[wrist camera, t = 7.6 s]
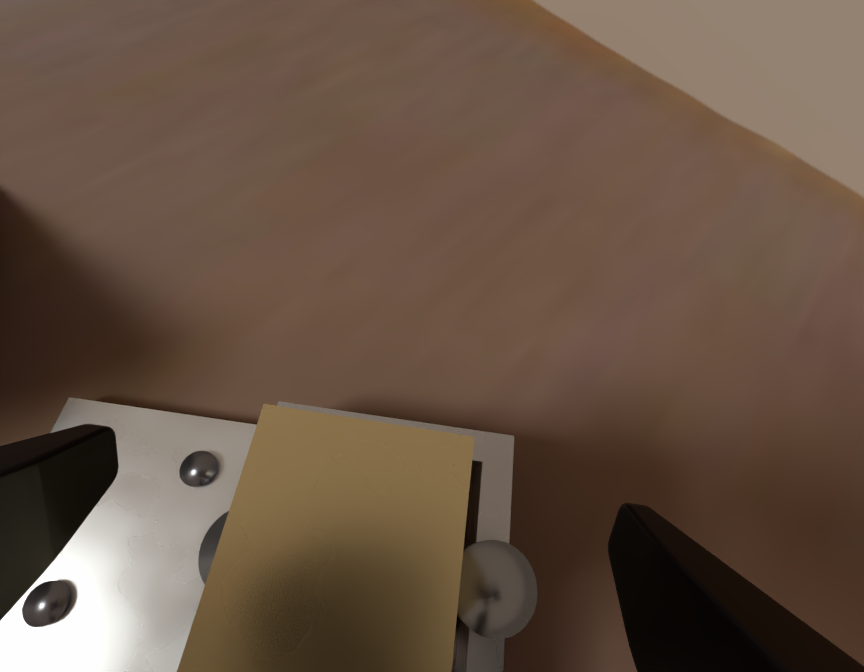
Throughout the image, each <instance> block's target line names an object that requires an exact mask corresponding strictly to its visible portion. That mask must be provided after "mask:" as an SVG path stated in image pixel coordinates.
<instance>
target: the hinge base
mask: <svg viewBox="0 0 864 672" xmlns="http://www.w3.org/2000/svg"><path fill="white" fill-rule="evenodd" d="M277 406H281V407H287V408H294V409H300V410H306V411H313V412H319V413H326V414H332V415H338V416H345V417H351V418H358V419H364V420H371V421H377V422H383V423H390V424H396V425H403V426H409V427H415V428H422V429H428V430H435V431H441V432H447V433H454V434H460V435H467V436H473V437H474V447H473V457H472V467H471V474H472V475H471V486H470V498H469V509H468V520H467V532H466V543H465V545H464V549H463V559H462V569H461V579H460V590H459V600H458V610H457V616H458V617H459V623H458V634H457V646H456V657H455V669H454V672H503V665H504V644H505V638H509V637H511V636H514V635H516V634H517V633H519V632H520V631H521V630H522V629H523V628H524V627H525V626H526V625H527V624H528V623H529V621H530V619H531V618H532V616H533V614H534V611H535V608H536V604H537V596H538V589H537V581H536V577H535V574H534V571H533V569H532V567H531V565H530V563H529V561H528V560H527V558H526V557H525V556H524V555H523V554H522V553H521V552H520V551H519V550H518V549H517V548H515V547H514V546H512V545H510V544H509V539H510V518H511V497H512V475H513V454H514V436H512V435H505V434H498V433H491V432H485V431H478V430H471V429H464V428H457V427H450V426H444V425H437V424H430V423H423V422H416V421H409V420H403V419H396V418H389V417H382V416H375V415H368V414H362V413H355V412H348V411H341V410H334V409H327V408H321V407H314V406H307V405H300V404H293V403H286V402H280V401H278V405H277ZM82 424H95V425H102V426H108V427H110V428H112V429H113V430H114V432H115V435H116V444H117V454H118V464H119V468H118V473H117V476H116V478H115V480H114V482H113V483H112V485H111V486H110V487H109V489H108V490H107V491H106V493H105V494H104V495H103V497H102V498H101V499H100V501H99V502H98V503H97V505H96V506H95V507H94V509H93V510H92V511H91V513H90V514H89V515H88V517H87V518H86V519H85V521H84V522H83V523H82V525H81V526H80V527H79V529H78V530H77V531H76V533H75V534H74V535H73V537H72V538H71V539H70V541H69V542H68V543H67V545H66V546H65V547H64V548H63V550H62V551H61V552H60V554H59V555H58V556H57V557H56V559H55V560H54V561H53V562H52V563H51V565H50V566H49V567H48V568H47V569H46V570H45V572H44V573H43V574H42V575H41V576H40V577H39V579H38V580H37V581H36V582H35V583H34V584H33V585H32V586H31V587H30V589H29V590H28V591H27V592H26V593H25V594H24V595H23V596H22V598H21V599H20V600H19V601H18V602H17V603H16V604H15V605H14V607H13V608H12V609H11V610H10V611H9V612H8V613H7V614H6V615H5V617H4V618H3V619H2V620H1V621H0V672H177V670H178V667H179V664H180V660H181V657H182V654H183V651H184V648H185V645H186V642H187V639H188V636H189V633H190V630H191V627H192V623H193V620H194V617H195V614H196V611H197V608H198V605H199V602H200V599H201V596H202V593H203V590H204V586H205V583H206V580H207V577H208V574H209V571H210V568H211V565H212V562H213V559H214V556H215V553H216V549H217V546H218V543H219V540H220V537H221V534H222V531H223V528H224V525H225V522H226V519H227V516H228V512H229V509H230V506H231V503H232V500H233V497H234V494H235V491H236V488H237V485H238V482H239V479H240V475H241V472H242V469H243V466H244V463H245V460H246V457H247V454H248V451H249V448H250V445H251V442H252V438H253V435H254V432H255V429H256V426H257V425H255V424H249V423H242V422H235V421H228V420H221V419H214V418H208V417H201V416H194V415H187V414H180V413H173V412H167V411H160V410H153V409H146V408H139V407H132V406H126V405H119V404H112V403H105V402H98V401H91V400H85V399H78V398H71V397H69V398H68V400H67V402H66V404H65V406H64V408H63V410H62V412H61V414H60V416H59V417H58V419H57V421H56V423H55V425H54V427H53V429H52V431H51V433H52V432H56V431H60V430H64V429H67V428H71V427H75V426H79V425H82Z"/></svg>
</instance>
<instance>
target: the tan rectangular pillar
mask: <svg viewBox="0 0 864 672" xmlns="http://www.w3.org/2000/svg"><path fill="white" fill-rule="evenodd" d="M473 447H474V437H473V436H467V435H460V434H454V433H447V432H441V431H435V430H428V429H422V428H415V427H409V426H403V425H396V424H390V423H383V422H377V421H371V420H364V419H358V418H351V417H345V416H338V415H332V414H326V413H319V412H313V411H306V410H300V409H294V408H287V407H281V406H274V405H268V404H264V405H263V408H262V411H261V414H260V417H259V420H258V423H257V426H256V429H255V432H254V435H253V438H252V442H251V445H250V448H249V451H248V454H247V457H246V460H245V463H244V466H243V469H242V472H241V475H240V479H239V482H238V485H237V488H236V491H235V494H234V497H233V500H232V503H231V506H230V509H229V512H228V516H227V519H226V522H225V525H224V528H223V531H222V534H221V537H220V540H219V543H218V546H217V549H216V553H215V556H214V559H213V562H212V565H211V568H210V571H209V574H208V577H207V580H206V583H205V586H204V590H203V593H202V596H201V599H200V602H199V605H198V608H197V611H196V614H195V617H194V620H193V623H192V627H191V630H190V633H189V636H188V639H187V642H186V645H185V648H184V651H183V654H182V657H181V660H180V664H179V667H178V670H177V672H451V671H452V661H453V651H454V641H455V631H456V620H457V610H458V600H459V590H460V579H461V569H462V559H463V549H464V539H465V528H466V518H467V508H468V498H469V488H470V477H471V467H472V457H473Z"/></svg>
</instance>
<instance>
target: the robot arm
mask: <svg viewBox="0 0 864 672" xmlns="http://www.w3.org/2000/svg"><path fill="white" fill-rule="evenodd" d="M118 468H119V464H118V454H117V444H116V435H115V432H114V430H113V429H112V428H110V427H108V426H102V425H95V424H82V425H79V426H75V427H71V428H67V429H64V430H60V431H56V432H52V433H49V434H45V435H41V436H37V437H34V438H30V439H26V440H22V441H18V442H15V443H11V444H7V445H3V446H0V621H1V620H2V619H3V618H4V617H5V615H6V614H7V613H8V612H9V611H10V610H11V609H12V608H13V607H14V605H15V604H16V603H17V602H18V601H19V600H20V599H21V598H22V596H23V595H24V594H25V593H26V592H27V591H28V590H29V589H30V587H31V586H32V585H33V584H34V583H35V582H36V581H37V580H38V579H39V577H40V576H41V575H42V574H43V573H44V572H45V570H46V569H47V568H48V567H49V566H50V565H51V563H52V562H53V561H54V560H55V559H56V557H57V556H58V555H59V554H60V552H61V551H62V550H63V548H64V547H65V546H66V545H67V543H68V542H69V541H70V539H71V538H72V537H73V535H74V534H75V533H76V531H77V530H78V529H79V527H80V526H81V525H82V523H83V522H84V521H85V519H86V518H87V517H88V515H89V514H90V513H91V511H92V510H93V509H94V507H95V506H96V505H97V503H98V502H99V501H100V499H101V498H102V497H103V495H104V494H105V493H106V491H107V490H108V489H109V487H110V486H111V485H112V483H113V482H114V480H115V478H116V476H117V473H118ZM608 553H609V558H610V563H611V567H612V572H613V576H614V581H615V585H616V590H617V594H618V599H619V603H620V608H621V612H622V617H623V621H624V626H625V630H626V634H627V638H628V642H629V646H630V650H631V653H632V656H633V659H634V663H635V666H636V669H637V672H864V666H862V665H861V664H860V663H858V662H857V661H856V660H854V659H853V658H852V657H850V656H849V655H848V654H846V653H845V652H843V651H842V650H841V649H839V648H838V647H837V646H835V645H834V644H833V643H831V642H830V641H829V640H827V639H826V638H825V637H823V636H822V635H821V634H819V633H818V632H817V631H815V630H814V629H812V628H811V627H810V626H808V625H807V624H806V623H804V622H803V621H802V620H800V619H799V618H798V617H796V616H795V615H794V614H792V613H791V612H790V611H788V610H787V609H786V608H784V607H783V606H781V605H780V604H779V603H777V602H776V601H775V600H773V599H772V598H771V597H769V596H768V595H767V594H765V593H764V592H763V591H761V590H760V589H759V588H757V587H756V586H755V585H753V584H752V583H750V582H749V581H748V580H746V579H745V578H744V577H742V576H741V575H740V574H738V573H737V572H736V571H734V570H733V569H732V568H730V567H729V566H728V565H726V564H725V563H724V562H722V561H721V560H720V559H718V558H717V557H715V556H714V555H713V554H711V553H710V552H709V551H707V550H706V549H705V548H703V547H702V546H701V545H699V544H698V543H697V542H695V541H694V540H693V539H691V538H690V537H689V536H687V535H686V534H685V533H683V532H682V531H680V530H679V529H678V528H676V527H675V526H674V525H672V524H671V523H670V522H668V521H667V520H666V519H664V518H663V517H662V516H660V515H659V514H658V513H656V512H655V511H654V510H652V509H651V508H649V507H648V506H645V505H638V504H631V503H625V504H622V505H621V507H620V508H619V510H618V513H617V516H616V520H615V523H614V526H613V529H612V532H611V535H610V538H609V543H608Z"/></svg>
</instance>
